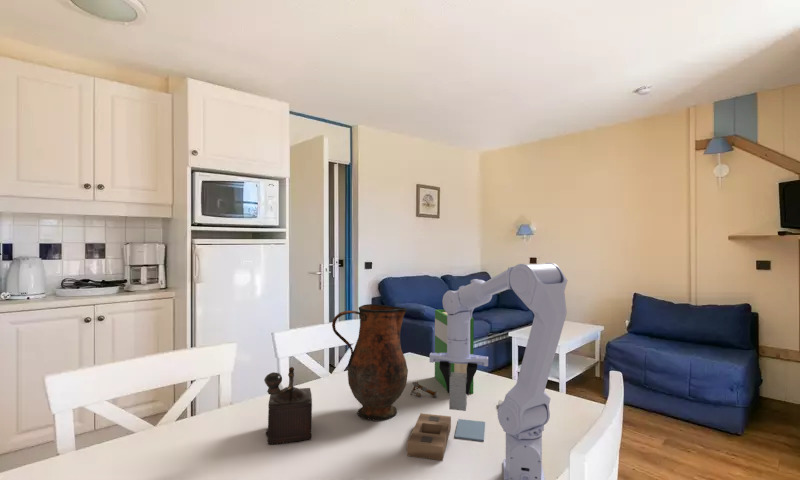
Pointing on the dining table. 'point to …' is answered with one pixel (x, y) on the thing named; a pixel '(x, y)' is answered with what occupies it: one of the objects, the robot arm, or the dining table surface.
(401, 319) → the pitcher
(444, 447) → the brown flat rectangular block
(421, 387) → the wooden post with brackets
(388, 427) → the dining table surface
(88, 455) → the dining table surface
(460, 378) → the steel peg
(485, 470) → the dining table surface
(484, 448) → the dining table surface
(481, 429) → the slate mat
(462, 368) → the hardback book
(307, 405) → the manual coffee grinder
